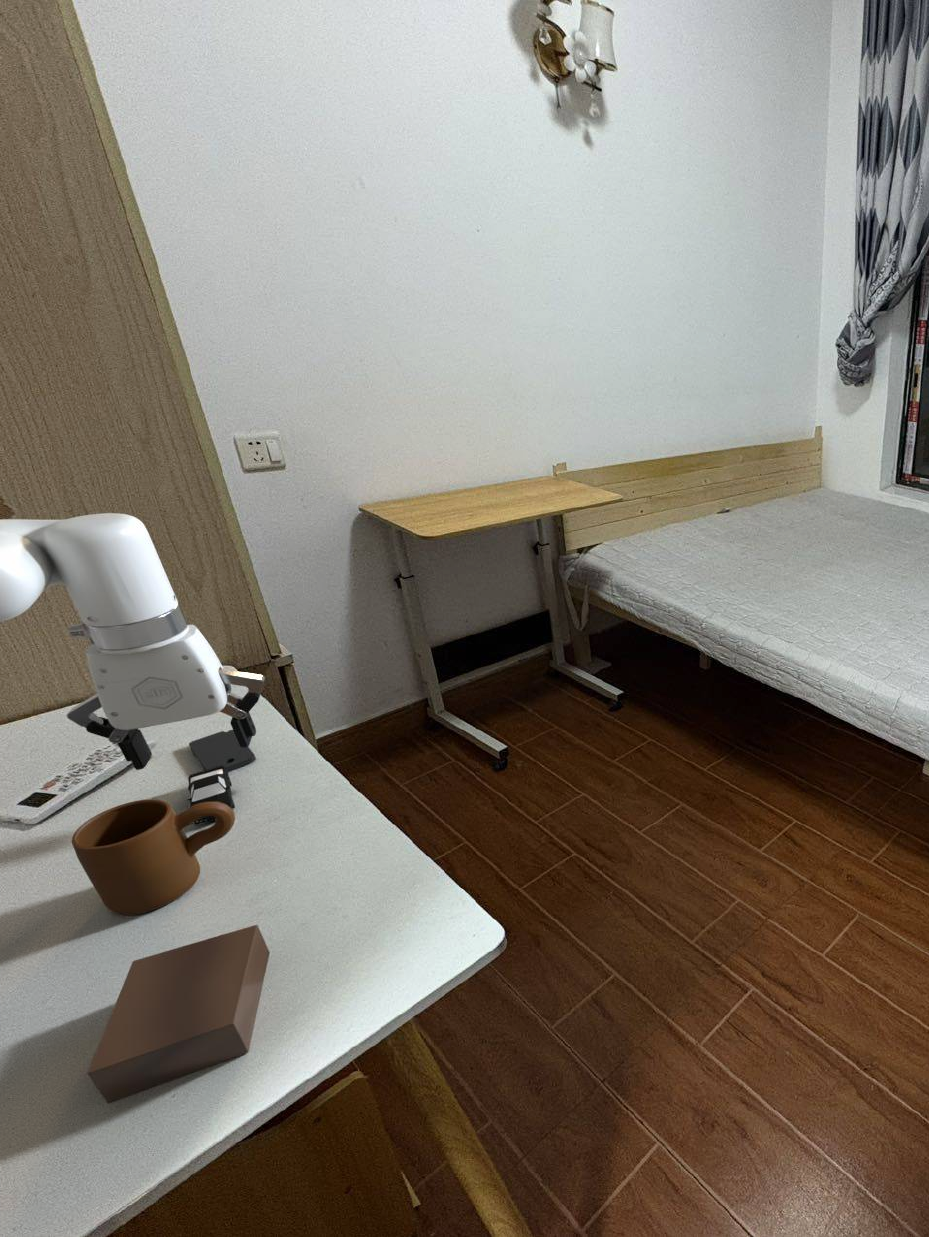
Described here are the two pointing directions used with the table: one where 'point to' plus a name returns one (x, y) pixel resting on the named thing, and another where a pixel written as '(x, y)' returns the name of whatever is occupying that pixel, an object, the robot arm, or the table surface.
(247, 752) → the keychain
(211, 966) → the walnut block
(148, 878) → the mug
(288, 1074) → the table surface
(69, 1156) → the table surface
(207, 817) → the toy car
